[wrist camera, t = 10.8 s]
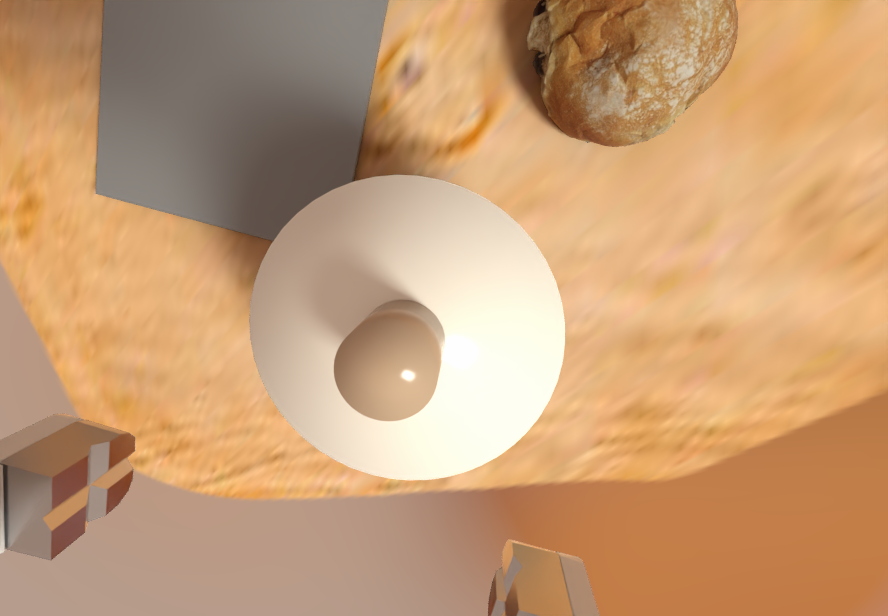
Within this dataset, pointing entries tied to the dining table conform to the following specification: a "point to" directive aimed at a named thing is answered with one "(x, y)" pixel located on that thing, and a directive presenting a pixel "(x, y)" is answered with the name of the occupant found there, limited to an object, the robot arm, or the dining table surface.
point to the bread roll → (628, 62)
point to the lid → (407, 327)
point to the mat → (234, 105)
